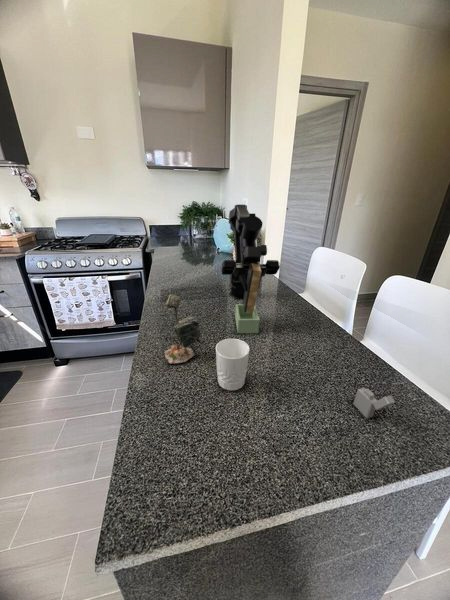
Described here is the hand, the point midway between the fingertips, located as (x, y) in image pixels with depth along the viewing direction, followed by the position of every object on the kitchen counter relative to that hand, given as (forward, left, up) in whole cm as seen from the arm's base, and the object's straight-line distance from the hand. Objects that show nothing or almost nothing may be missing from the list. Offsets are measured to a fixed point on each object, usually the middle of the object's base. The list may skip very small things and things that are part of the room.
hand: (251, 291), depth 80 cm
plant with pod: (+26, +1, -14) cm, 29 cm away
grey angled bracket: (+3, +42, -14) cm, 44 cm away
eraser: (0, -2, -7) cm, 7 cm away
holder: (0, -2, -13) cm, 14 cm away
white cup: (+21, +17, -14) cm, 30 cm away
